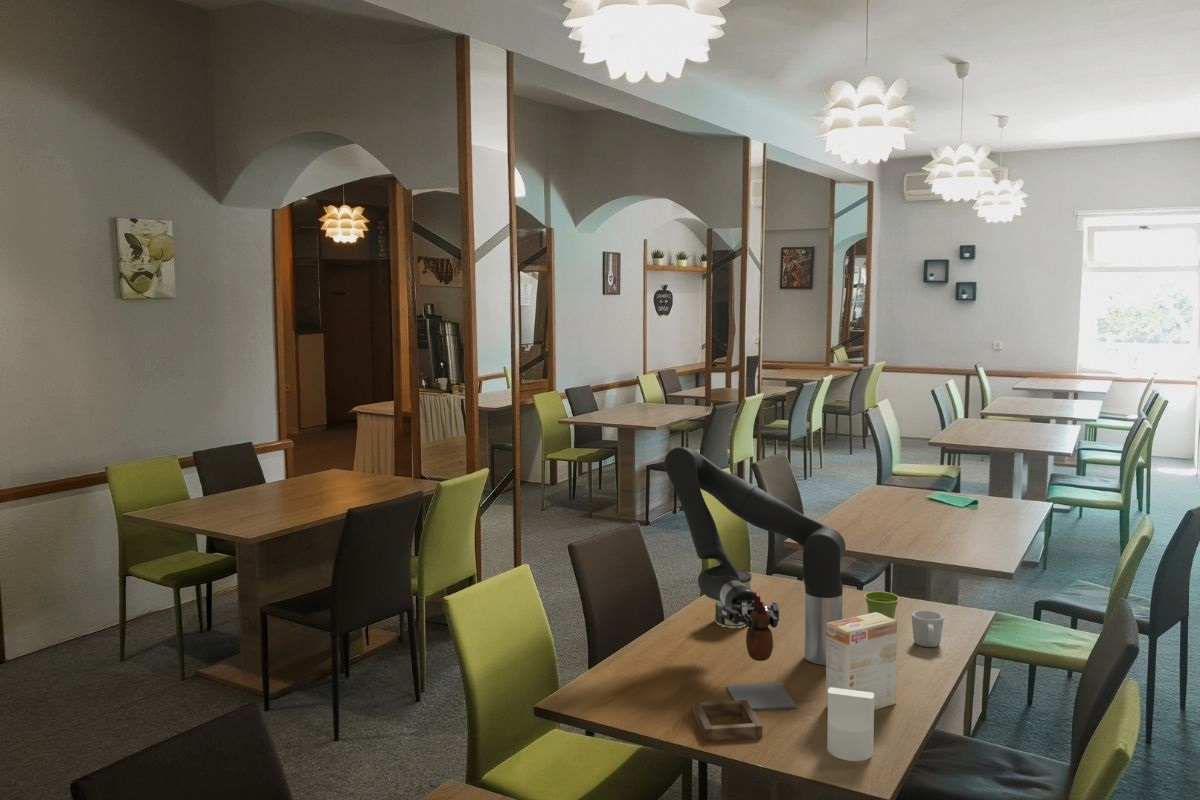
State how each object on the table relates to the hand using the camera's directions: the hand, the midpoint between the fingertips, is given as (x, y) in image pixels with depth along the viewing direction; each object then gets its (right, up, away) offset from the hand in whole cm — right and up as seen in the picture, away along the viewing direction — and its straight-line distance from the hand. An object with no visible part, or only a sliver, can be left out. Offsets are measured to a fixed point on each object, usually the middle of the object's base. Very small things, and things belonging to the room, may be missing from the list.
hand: (764, 624), depth 206 cm
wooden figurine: (0, -9, +4) cm, 10 cm away
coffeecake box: (+22, -18, -1) cm, 28 cm away
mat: (0, -18, +4) cm, 18 cm away
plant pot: (+42, -13, +50) cm, 67 cm away
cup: (+49, -15, +35) cm, 62 cm away
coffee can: (+1, -13, +55) cm, 57 cm away
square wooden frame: (-10, -19, -10) cm, 24 cm away
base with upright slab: (+14, -20, -21) cm, 33 cm away
